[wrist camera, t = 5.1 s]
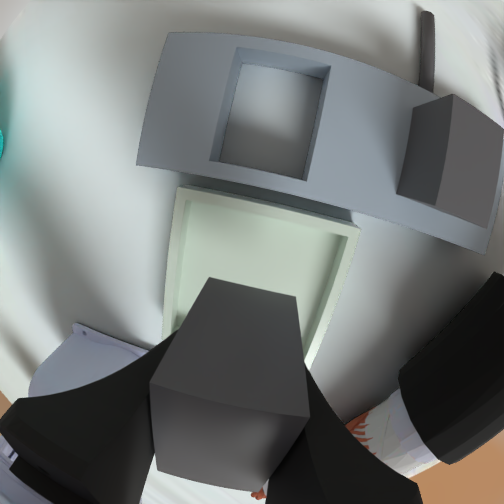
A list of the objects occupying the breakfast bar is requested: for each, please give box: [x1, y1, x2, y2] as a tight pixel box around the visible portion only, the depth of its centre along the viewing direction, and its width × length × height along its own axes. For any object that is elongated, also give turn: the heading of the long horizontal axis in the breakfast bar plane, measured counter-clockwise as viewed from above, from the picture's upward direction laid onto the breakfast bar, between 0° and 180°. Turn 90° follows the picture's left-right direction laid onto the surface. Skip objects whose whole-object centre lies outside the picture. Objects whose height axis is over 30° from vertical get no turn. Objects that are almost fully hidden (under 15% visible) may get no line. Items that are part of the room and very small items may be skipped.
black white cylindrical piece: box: [251, 272, 504, 500], centre depth 17 cm, size 10×34×10 cm, turn 143°
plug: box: [149, 277, 310, 492], centre depth 9 cm, size 4×5×6 cm
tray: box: [162, 185, 361, 370], centre depth 17 cm, size 10×10×2 cm
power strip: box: [136, 11, 504, 255], centre depth 10 cm, size 22×16×6 cm
